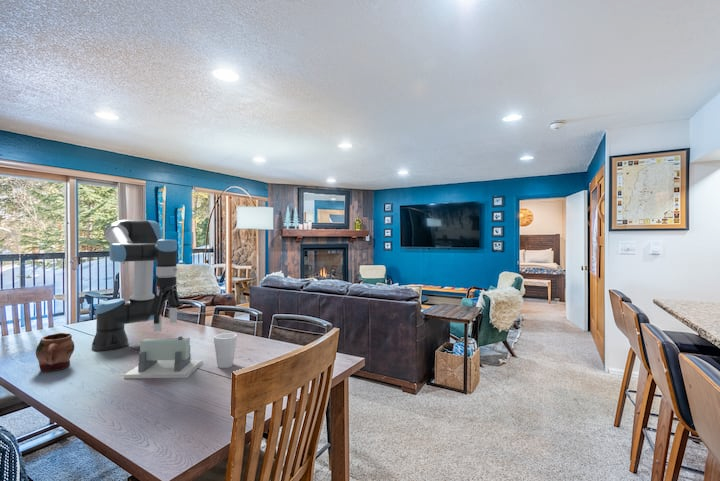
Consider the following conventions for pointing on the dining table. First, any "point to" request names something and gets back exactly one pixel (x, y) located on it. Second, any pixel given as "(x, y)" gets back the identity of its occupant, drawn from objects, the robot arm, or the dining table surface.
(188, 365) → the clip rack
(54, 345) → the decorative planter
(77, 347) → the dining table surface
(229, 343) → the foam cup
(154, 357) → the tapered bar with knob
